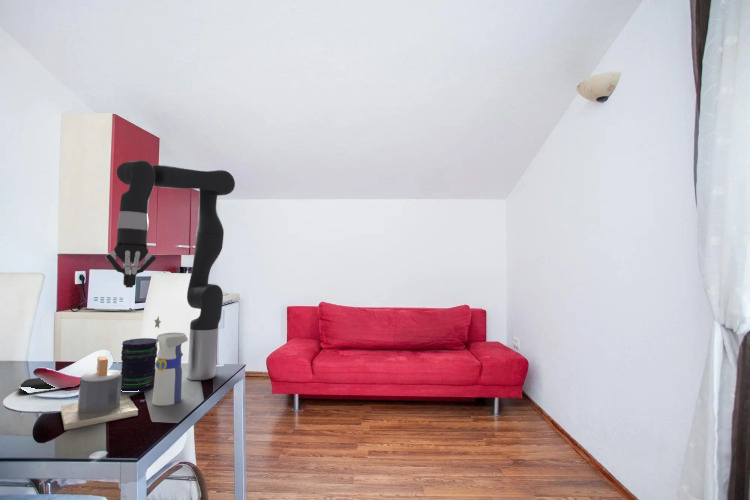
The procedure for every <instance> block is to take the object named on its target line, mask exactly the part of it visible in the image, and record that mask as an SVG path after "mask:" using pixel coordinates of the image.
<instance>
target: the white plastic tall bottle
mask: <svg viewBox="0 0 750 500" xmlns="http://www.w3.org/2000/svg"><path fill="white" fill-rule="evenodd" d="M154 322H155V325H154V328H158V329H160V324H161V323H162V321H161V320H160V316H158V317H157V319H154ZM156 339H157V342H156V346H157V347H159V349H158V351H157V356H156V360H155V369H156V371H155V380H154V388H153V393H152V400H151V404H152V405H153V406H171V405H175V404H179V403H180V402H182V400H183V395H182V393H183V392H182V390H183V388H182V387H183V367H182V357H183V356H184V353H183V351H182V344H184V343H185V342H188V339H189V338H188V336H187V334H186V333H184V332H165V333H160V334H157V336H156Z"/></svg>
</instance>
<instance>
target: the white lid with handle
mask: <svg viewBox="0 0 750 500" xmlns="http://www.w3.org/2000/svg"><path fill="white" fill-rule="evenodd" d="M96 360H97V363H96V370H95V371H90V372H87V373H84V374H82V375H81V378H82V381H86V382H100V381H107V380H112V379H115V378H118V377H119V376H120V374H121V371H120V370H117V369H108V367H109V366H108V363H109V359H108V357H107V356H105V355H103V356H97V359H96Z"/></svg>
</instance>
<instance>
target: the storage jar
mask: <svg viewBox="0 0 750 500" xmlns="http://www.w3.org/2000/svg"><path fill="white" fill-rule="evenodd" d="M156 342H157V338H148V337H147V338H145V337H143V338H142V337H141V338H133V339H127V340H123V341H122V344H121V345H122V348H121V357H120V358H121V359H120V360H121V371H120V372H121V375H122V382H121V390H122V391H138V390H139V391H141V392H140V393H144V392H148V391H150V390H154V380H155V371H156V361H157V357H156V356H157V354H158V345H157V346H156ZM157 343H158V342H157Z"/></svg>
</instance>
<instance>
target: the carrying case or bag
mask: <svg viewBox="0 0 750 500" xmlns="http://www.w3.org/2000/svg"><path fill="white" fill-rule="evenodd" d="M40 378H41V377H36V378H35V377H34V378H29V379H25V380H24V381H23V382H22V383H21V384H20V392H21V393H22V394H24V395H30V394H29V393H27V392H26V391H24V390H22V389H21V387H31V388H35V389H51V388H55V387H53V386H51V385H49V384H47V383H46V382H44V381H43V380H41V379H40Z"/></svg>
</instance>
